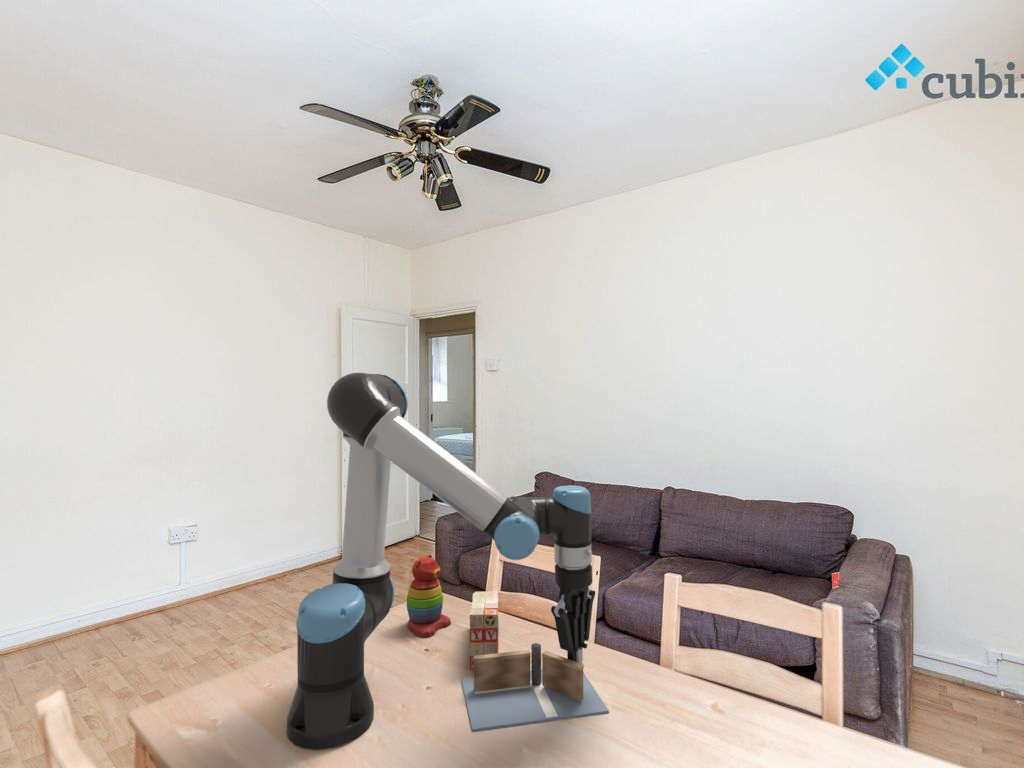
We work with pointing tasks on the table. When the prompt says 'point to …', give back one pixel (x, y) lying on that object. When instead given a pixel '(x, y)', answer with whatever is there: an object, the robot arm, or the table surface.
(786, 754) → the table surface
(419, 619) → the stacking bear
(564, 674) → the fence folding panel
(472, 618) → the stack of blocks
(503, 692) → the board
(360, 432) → the robot arm
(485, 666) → the fence fixed panel
